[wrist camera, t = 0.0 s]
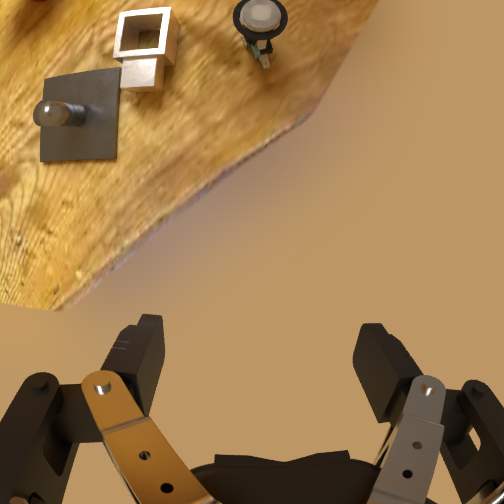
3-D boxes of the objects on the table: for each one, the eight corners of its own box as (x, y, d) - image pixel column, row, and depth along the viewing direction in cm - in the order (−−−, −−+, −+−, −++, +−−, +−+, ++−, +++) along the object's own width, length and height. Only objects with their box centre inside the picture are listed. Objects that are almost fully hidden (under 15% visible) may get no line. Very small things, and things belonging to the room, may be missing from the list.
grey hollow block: (135, 27, 31) (120, 12, 25) (179, 24, 31) (170, 7, 26) (127, 94, 34) (109, 87, 29) (172, 92, 35) (160, 84, 29)
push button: (286, 64, 34) (301, 41, 25) (244, 75, 34) (246, 53, 25) (270, 20, 32) (279, -14, 22) (229, 30, 32) (225, -2, 23)
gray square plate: (48, 79, 32) (11, 71, 24) (122, 68, 33) (93, 53, 25) (43, 161, 36) (5, 169, 28) (116, 157, 37) (86, 163, 29)
